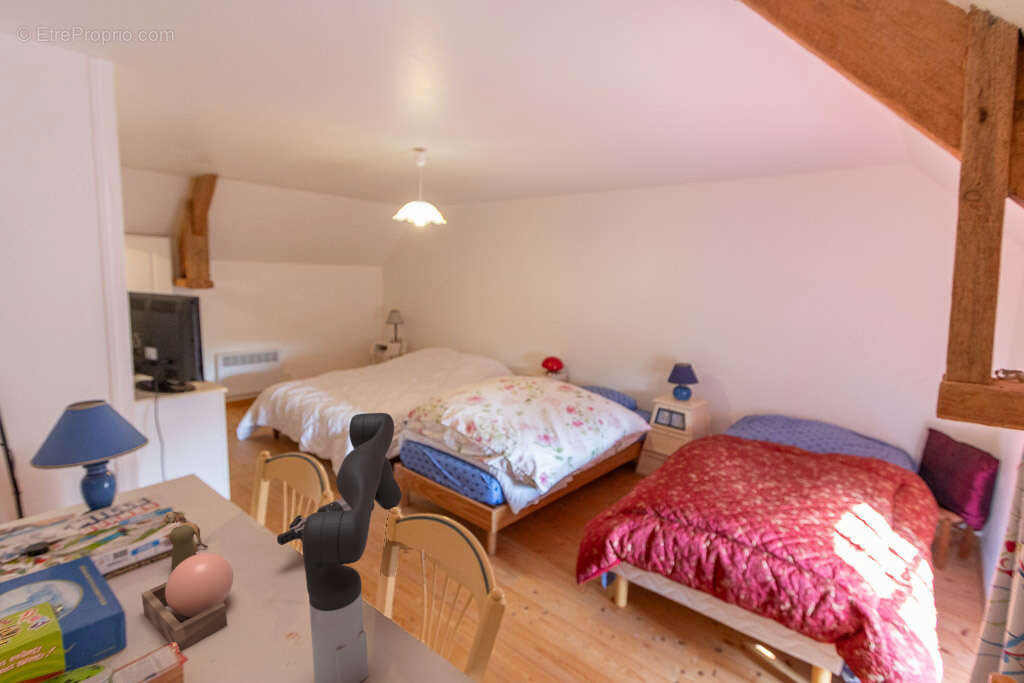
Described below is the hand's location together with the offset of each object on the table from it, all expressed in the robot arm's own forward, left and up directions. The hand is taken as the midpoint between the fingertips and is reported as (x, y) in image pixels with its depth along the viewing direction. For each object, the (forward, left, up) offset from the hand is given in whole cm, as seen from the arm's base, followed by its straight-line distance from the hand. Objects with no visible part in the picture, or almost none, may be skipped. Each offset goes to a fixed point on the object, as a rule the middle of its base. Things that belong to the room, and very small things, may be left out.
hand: (278, 540), depth 123 cm
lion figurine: (+34, +10, -9) cm, 36 cm away
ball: (+1, +18, -2) cm, 18 cm away
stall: (+1, +22, -9) cm, 23 cm away
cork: (+22, +14, -9) cm, 28 cm away
